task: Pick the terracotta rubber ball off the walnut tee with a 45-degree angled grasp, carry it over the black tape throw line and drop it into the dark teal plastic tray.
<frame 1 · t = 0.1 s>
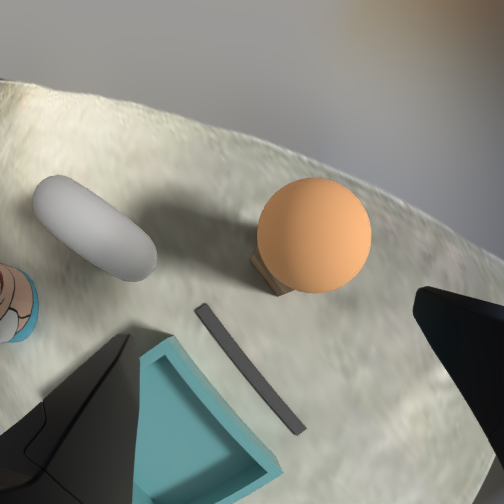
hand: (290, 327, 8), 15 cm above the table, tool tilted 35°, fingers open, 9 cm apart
tee: (281, 264, 24), on the table
throw line: (253, 374, 22), on the table
donut: (116, 247, 23), on the table
ball: (314, 235, 16), point 9 cm above the table, touching tee
tray: (166, 439, 20), on the table
cup: (13, 305, 21), on the table
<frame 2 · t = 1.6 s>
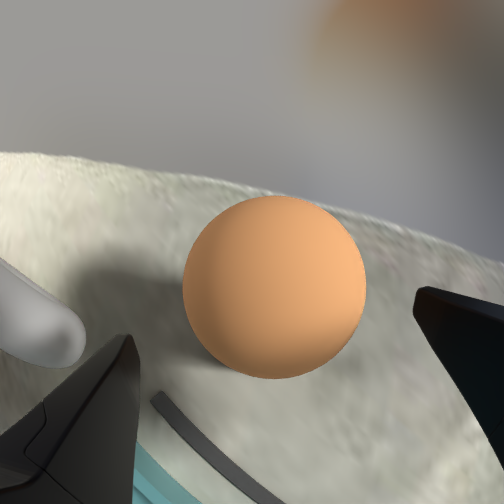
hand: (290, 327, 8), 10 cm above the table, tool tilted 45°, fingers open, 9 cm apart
throw line: (233, 472, 14), on the table
donut: (55, 325, 17), on the table
ball: (274, 287, 10), point 9 cm above the table, touching tee
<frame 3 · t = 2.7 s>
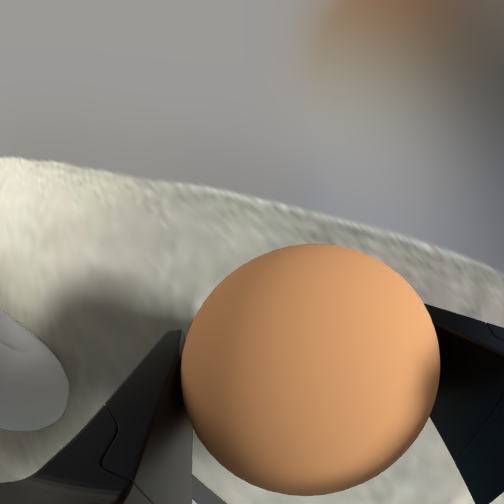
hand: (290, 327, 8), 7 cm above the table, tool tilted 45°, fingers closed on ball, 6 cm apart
donut: (36, 362, 13), on the table
ball: (311, 372, 7), point 9 cm above the table, touching gripper, tee
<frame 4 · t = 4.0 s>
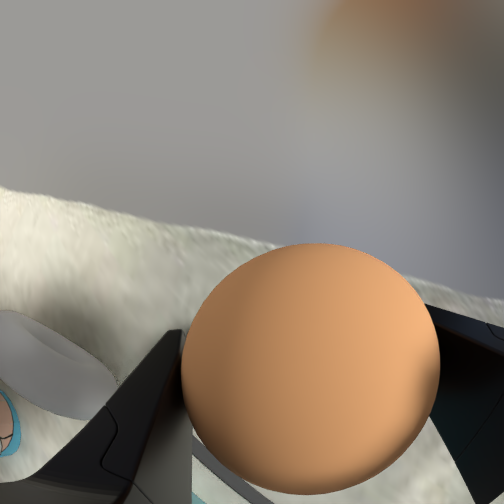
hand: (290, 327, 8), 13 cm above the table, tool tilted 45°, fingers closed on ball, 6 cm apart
throw line: (243, 487, 17), on the table
donut: (83, 369, 19), on the table
ball: (311, 371, 7), point 15 cm above the table, touching gripper
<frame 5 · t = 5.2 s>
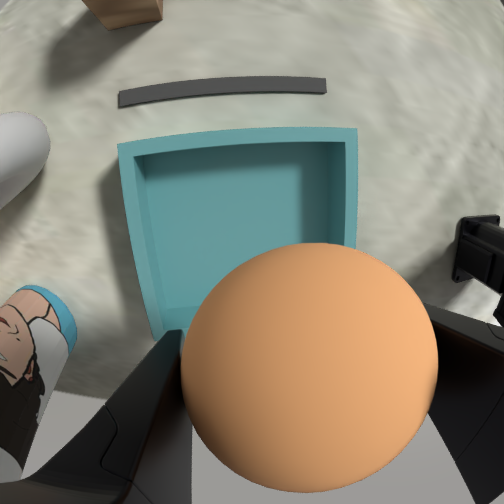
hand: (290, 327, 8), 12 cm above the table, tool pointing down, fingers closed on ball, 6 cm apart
tee: (135, 3, 13), on the table
throw line: (224, 85, 16), on the table
donut: (23, 168, 16), on the table
ball: (310, 370, 7), point 14 cm above the table, tilted 45°, touching gripper
tray: (242, 224, 20), on the table
cup: (43, 320, 20), on the table
when the fingers open (4 cm above the table, at t = 6.6 s): ball drops 2 cm, resting on tray.
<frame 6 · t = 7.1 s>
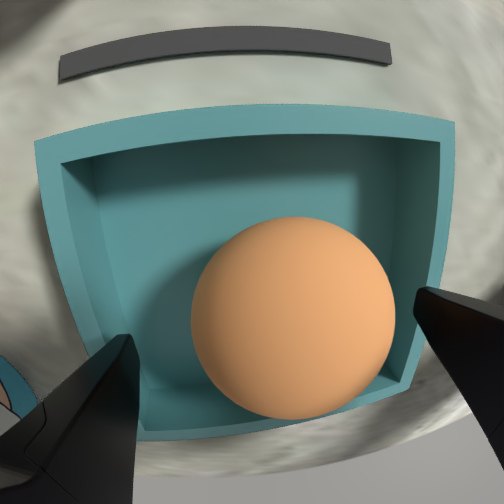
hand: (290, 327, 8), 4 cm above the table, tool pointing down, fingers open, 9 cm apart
throw line: (233, 39, 9), on the table
ball: (293, 319, 9), point 4 cm above the table, tilted 45°, touching tray
tray: (261, 271, 12), on the table
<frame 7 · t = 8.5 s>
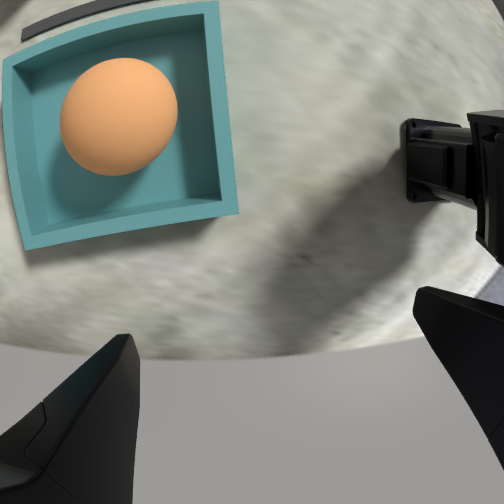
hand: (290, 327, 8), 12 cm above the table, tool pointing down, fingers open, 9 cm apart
throw line: (105, 4, 12), on the table
ball: (117, 116, 13), point 4 cm above the table, tilted 48°, touching tray
tray: (116, 124, 16), on the table
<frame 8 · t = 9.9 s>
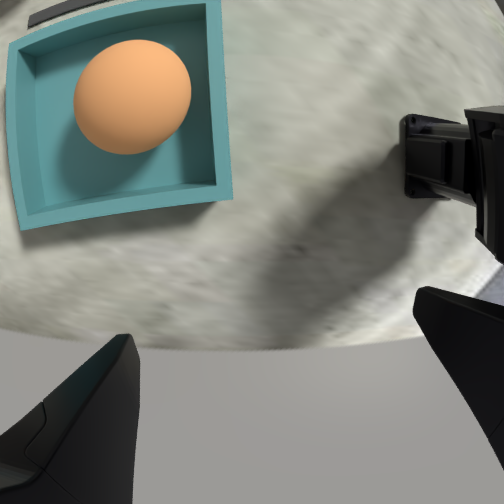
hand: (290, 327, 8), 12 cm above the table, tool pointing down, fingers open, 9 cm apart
ball: (131, 96, 13), point 4 cm above the table, tilted 54°, touching tray
tray: (116, 109, 16), on the table
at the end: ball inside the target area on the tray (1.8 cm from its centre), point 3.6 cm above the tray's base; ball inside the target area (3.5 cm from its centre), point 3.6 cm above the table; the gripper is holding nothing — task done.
